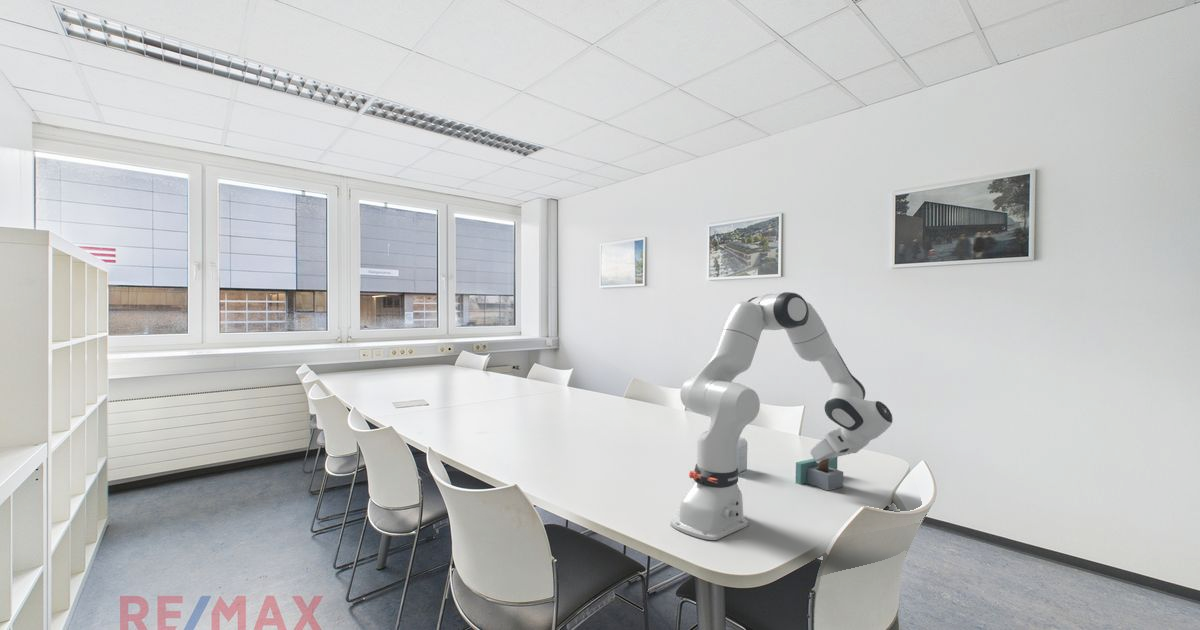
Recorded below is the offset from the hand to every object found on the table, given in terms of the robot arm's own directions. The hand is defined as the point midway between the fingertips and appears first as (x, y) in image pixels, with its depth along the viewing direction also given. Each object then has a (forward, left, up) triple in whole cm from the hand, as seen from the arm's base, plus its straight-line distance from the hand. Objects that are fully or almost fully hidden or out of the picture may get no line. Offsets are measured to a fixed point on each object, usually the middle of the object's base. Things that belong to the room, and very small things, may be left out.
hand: (821, 460), depth 161 cm
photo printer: (-8, +27, -8) cm, 29 cm away
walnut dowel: (0, -1, -6) cm, 6 cm away
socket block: (0, -1, -8) cm, 8 cm away
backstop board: (+4, +3, -8) cm, 10 cm away
